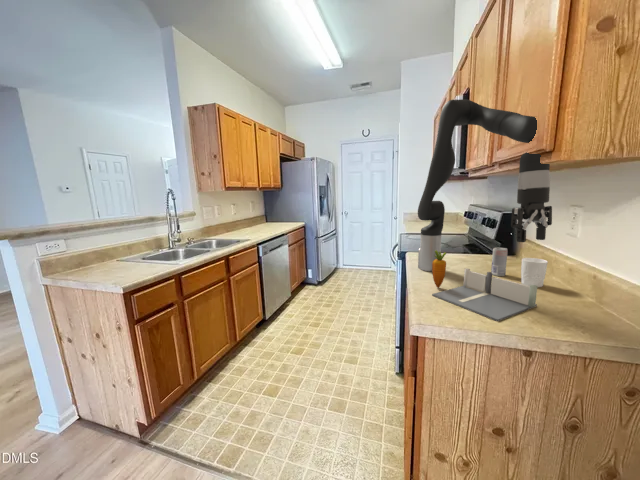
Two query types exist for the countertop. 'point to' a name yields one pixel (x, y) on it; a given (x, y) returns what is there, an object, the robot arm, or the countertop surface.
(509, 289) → the fence gate
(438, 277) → the carrot
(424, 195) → the robot arm
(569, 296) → the countertop surface
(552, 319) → the countertop surface
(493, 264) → the energy drink
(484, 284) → the bar
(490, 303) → the card
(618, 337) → the countertop surface
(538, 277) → the white cup
